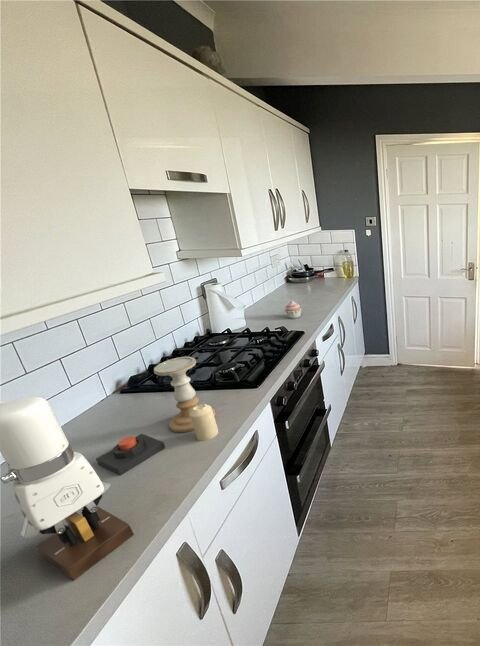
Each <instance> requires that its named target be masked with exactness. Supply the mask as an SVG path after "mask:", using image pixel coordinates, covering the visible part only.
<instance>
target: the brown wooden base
mask: <svg viewBox="0 0 480 646" xmlns="http://www.w3.org/2000/svg"><path fill="white" fill-rule="evenodd" d="M97 507H98V508H97V510H96V512H97V514H98V516H99V518H100V521H98V524H99V526H100V528H98V529H96V530H95V529H93V528H92V527H90V528H91V530H92V532H93V534H94V536H93V537H91V538H90V539H88V540H87V541H86V542H85V541H83V540H82V539H80V538H79V537H77V536H76V535H74V536H75V538H76V539H77V541H78V542H77V544H75V545H74V546H73V545H72V544H70V543H69V542H67V543H66V544H64V543H62V542H61V540H60V539H59V537H58V535H57V533H53V534H51V536H49V537H48V538H46V539H45V540H42V541H41V542H39V543H38V544H37V545H35V547H36V550H38V552H39V554H40V555H41V557H42V558H43V559H45V560H46V561H47V562H48V563H50V564H51V565H53V566H54V567H55V568H57V570H59V571H61V572H62V573H63V574H64V575H65V576H67V577H69V578H70V579H71V580H72V581H75V580H77V579H78V578H79V577H80V576H82V575H83V574H85V572H87V571H89V569H91V568H92V567H94V566H95V565H96V564H97V563H99V562H100V561H101V560H103V559H104V558H106V557H107V556H108V555H109V554H111V553H112V552H113V551H114V550H116V549H117V548H118V547H119V546H121V545H122V544H124V543H125V542H127V540H129V539H130V538H131V537H133V536H134V535H135V534H134V531H133V529H132V527H131V525H130V524H129V523H128V522H126V521H124V520H123V519H121V518H118V517H117V516H116V515H114V514H112V513H110V512H108V511H107V510H105V509H103V508H102V507H99V506H98V505H97ZM66 526H67V527H69V526H68V524H67V525H66ZM69 528H70V527H69Z"/></svg>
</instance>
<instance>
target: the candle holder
mask: <svg viewBox="0 0 480 646" xmlns="http://www.w3.org/2000/svg"><path fill="white" fill-rule="evenodd" d="M196 364H197V359H196V357H193V356H180V357H175V358H171V359H167V360H165V361H163V362H160V363H159V364H157V365H155V366H154V368H153V373H154V374H155V375H156V376H162V377H164V376H166V377H167V376H169V377H170V378H171V379H172V380H171V382H170V385H171V387H173V389H174V394H173V396H174V397H173V398H174V400H175V402H177V403H176V404H175V406H176V408H177V409H179V410H180V412H178V413H177V414H176V415H175V416H173V418H171V420H170V421H169V423H168V426H169V429H170V431H171V432H173V433H178V434H183V433H189V432H193V431H195V430H194V427H193V424H192V421H191V418H190V415H189V413H190V412H191V410H192V409H193V408H195V407H197V406H199V404H198V403H199V401H200V398H199V397H197V396H196V394H197V392H196V390H195V388H193V386H192V385H191V383H190V382H191V379H192V378H191V377H190V376H188V375H187V371H188V370H190V369H192V368H194V367H195V366H196ZM212 411H213V414H214V417H215V418H216V410H215V409H214V407H212Z"/></svg>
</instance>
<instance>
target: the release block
mask: <svg viewBox="0 0 480 646" xmlns="http://www.w3.org/2000/svg"><path fill="white" fill-rule="evenodd" d="M134 437H135V439H136V441H137V444H136V445H135V446H133V447H132V448H129V449H126V450H120V448H119V445H118V443H117V444H116V445H115V446H114V447H113V448H112V449H111V450H109V451H107V452H105V453H104V454H102V455H100V456H98V457H97V458H95V461H96V462H97V464H98V466H100V467H102V468H104V469H106V470H108V471H110V472H112V473H114V474H116V475H118V476H119V477H120V476H122V475H124V474H126V473H127V472H129V471H131V470H132V469H134V468H135V467H137V466H139V465H140V464H142V463H144V462H146V461H147V460H148V459H150V458H152V457H154V456H155V455H156V454H158V453H160V452H162V451H163V450H165V449H166V446H165V444H164V442H163V440H159V439H157V438H154V437H152V436H149V435H147V434H144V433H140V434H138V435H136V436H134Z"/></svg>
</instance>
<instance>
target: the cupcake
mask: <svg viewBox="0 0 480 646" xmlns="http://www.w3.org/2000/svg"><path fill="white" fill-rule="evenodd" d="M302 309H303V308H302V307H301V306H300V304H299V303H297V302H296V301H294V300H290V302H289V303H287V305H286V306H285V310H284V311H285V313H286V314H287V315H286V316H287V317H288V319H290V320H295V319H298V318H300V317H301V314H302Z"/></svg>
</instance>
